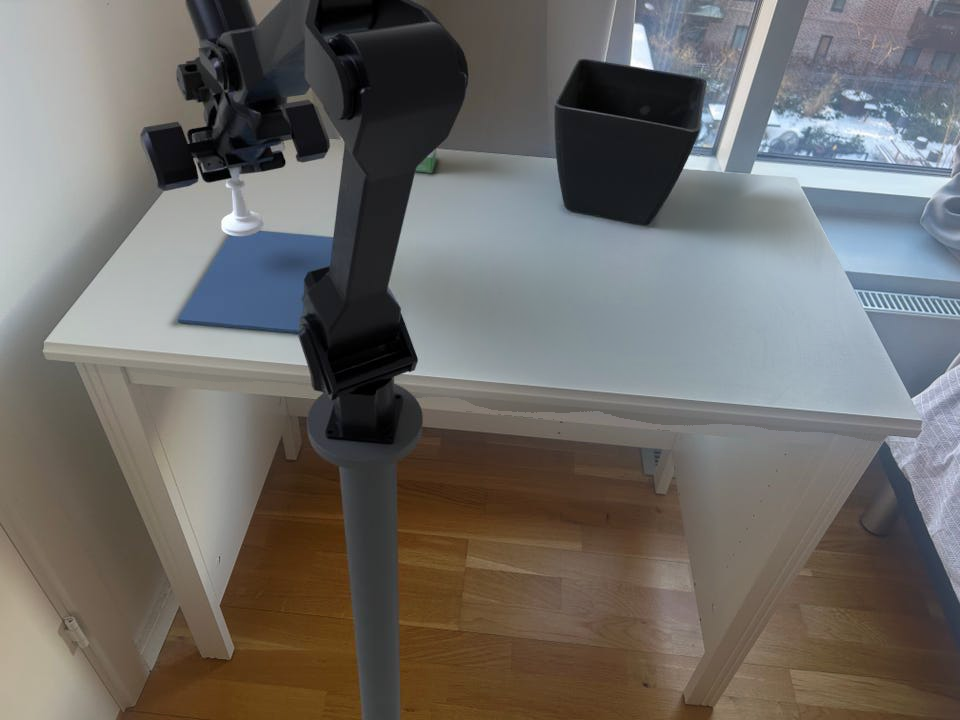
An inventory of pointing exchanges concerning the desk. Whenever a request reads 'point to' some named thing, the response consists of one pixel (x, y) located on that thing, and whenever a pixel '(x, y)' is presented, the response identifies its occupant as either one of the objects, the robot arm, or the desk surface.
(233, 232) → the chess piece
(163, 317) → the desk surface
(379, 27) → the robot arm
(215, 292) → the mat
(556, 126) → the flower pot
